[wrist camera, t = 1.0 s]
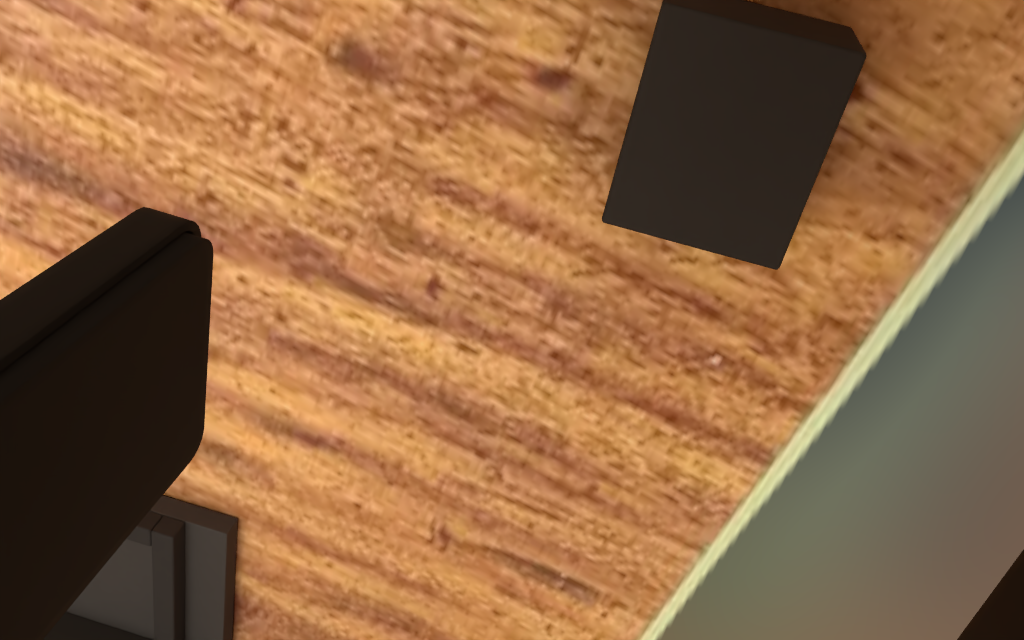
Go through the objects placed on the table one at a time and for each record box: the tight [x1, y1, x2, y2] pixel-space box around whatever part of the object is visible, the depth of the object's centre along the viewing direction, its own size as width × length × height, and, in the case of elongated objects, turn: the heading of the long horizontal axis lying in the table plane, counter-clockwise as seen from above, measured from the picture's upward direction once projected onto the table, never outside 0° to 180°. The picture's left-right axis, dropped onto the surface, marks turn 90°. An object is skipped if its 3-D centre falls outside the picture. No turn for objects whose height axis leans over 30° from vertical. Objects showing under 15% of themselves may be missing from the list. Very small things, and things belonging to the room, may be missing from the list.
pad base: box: [43, 495, 238, 640], centre depth 41 cm, size 16×12×4 cm
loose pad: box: [602, 0, 866, 269], centre depth 24 cm, size 6×5×3 cm
